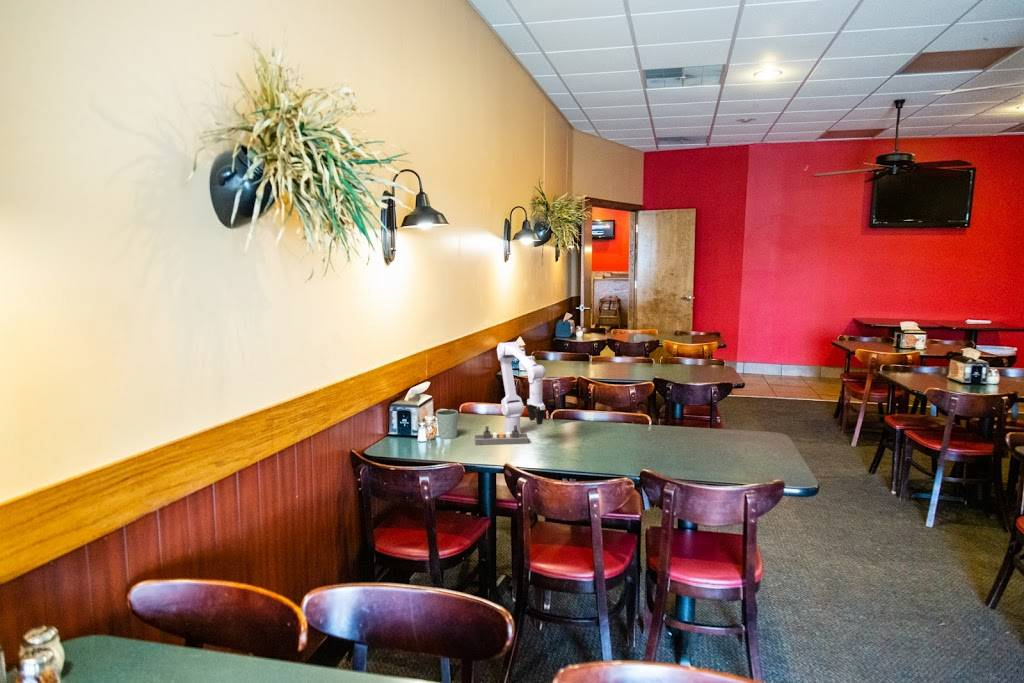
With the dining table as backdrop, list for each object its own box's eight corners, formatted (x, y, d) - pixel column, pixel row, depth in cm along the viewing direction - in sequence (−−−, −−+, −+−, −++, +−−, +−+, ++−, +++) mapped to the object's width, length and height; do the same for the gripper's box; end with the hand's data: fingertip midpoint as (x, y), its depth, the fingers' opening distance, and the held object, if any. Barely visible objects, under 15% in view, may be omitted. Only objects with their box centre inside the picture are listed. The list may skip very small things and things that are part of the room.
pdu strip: (474, 440, 284) (474, 434, 283) (526, 439, 286) (526, 433, 286) (475, 445, 277) (475, 439, 276) (528, 443, 279) (528, 437, 279)
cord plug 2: (511, 435, 283) (511, 425, 282) (518, 435, 283) (518, 424, 283) (512, 437, 280) (512, 426, 279) (519, 437, 280) (519, 426, 280)
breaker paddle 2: (505, 436, 282) (505, 432, 282) (509, 435, 283) (509, 432, 282) (506, 437, 280) (506, 433, 280) (509, 437, 280) (509, 433, 280)
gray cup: (460, 434, 295) (459, 409, 293) (456, 440, 285) (455, 414, 283) (439, 433, 296) (438, 409, 294) (434, 439, 286) (434, 414, 284)
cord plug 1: (483, 436, 282) (483, 425, 281) (490, 436, 282) (490, 425, 281) (483, 438, 279) (483, 427, 278) (490, 438, 279) (490, 427, 278)
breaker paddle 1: (492, 436, 282) (492, 432, 282) (496, 436, 282) (496, 432, 282) (493, 437, 279) (493, 434, 279) (496, 437, 280) (496, 433, 279)
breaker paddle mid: (499, 436, 282) (499, 432, 282) (502, 436, 282) (502, 432, 282) (499, 437, 280) (499, 433, 279) (503, 437, 280) (503, 433, 280)
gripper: (521, 390, 280) (521, 419, 282) (534, 396, 267) (534, 427, 268) (535, 388, 283) (535, 417, 284) (549, 395, 269) (549, 425, 271)
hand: (535, 422), depth 277 cm, fingers open, 7 cm apart
